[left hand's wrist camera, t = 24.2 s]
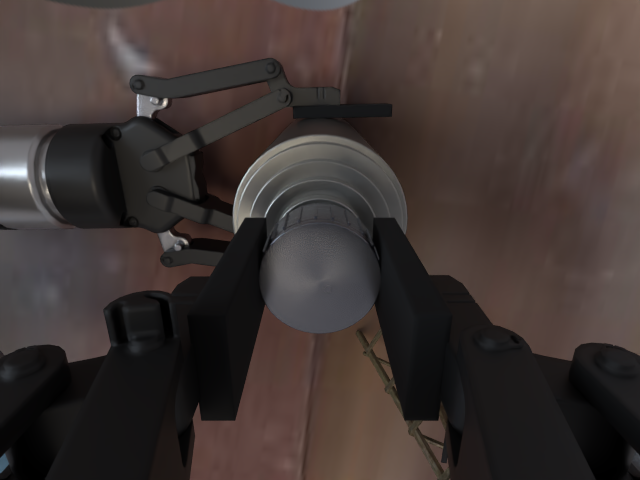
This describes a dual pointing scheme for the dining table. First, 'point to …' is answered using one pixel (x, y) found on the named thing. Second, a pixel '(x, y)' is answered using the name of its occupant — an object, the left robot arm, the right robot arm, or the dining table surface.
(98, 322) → the dining table surface
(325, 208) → the cap
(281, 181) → the bottle
